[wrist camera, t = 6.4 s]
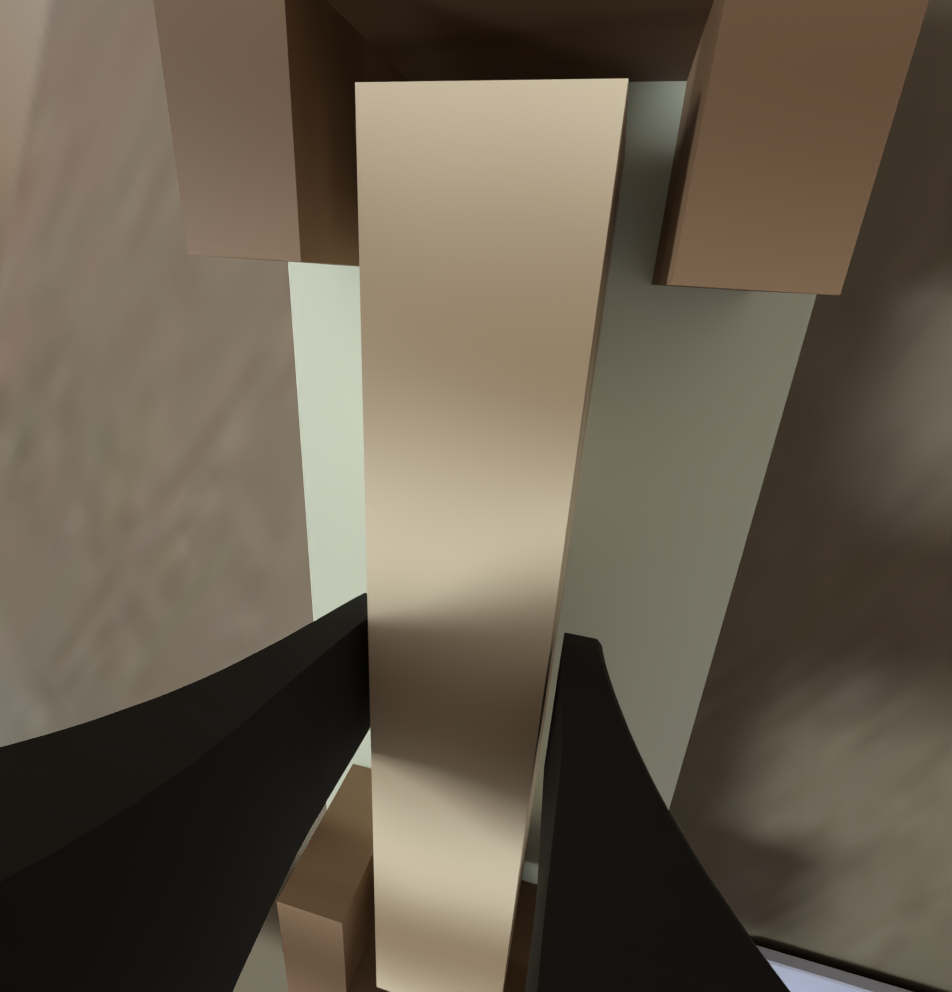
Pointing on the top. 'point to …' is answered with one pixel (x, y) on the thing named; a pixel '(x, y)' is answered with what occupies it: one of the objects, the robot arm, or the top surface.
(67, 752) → the robot arm
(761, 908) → the top surface
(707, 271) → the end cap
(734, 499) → the base board
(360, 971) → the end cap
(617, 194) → the slat
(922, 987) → the top surface
